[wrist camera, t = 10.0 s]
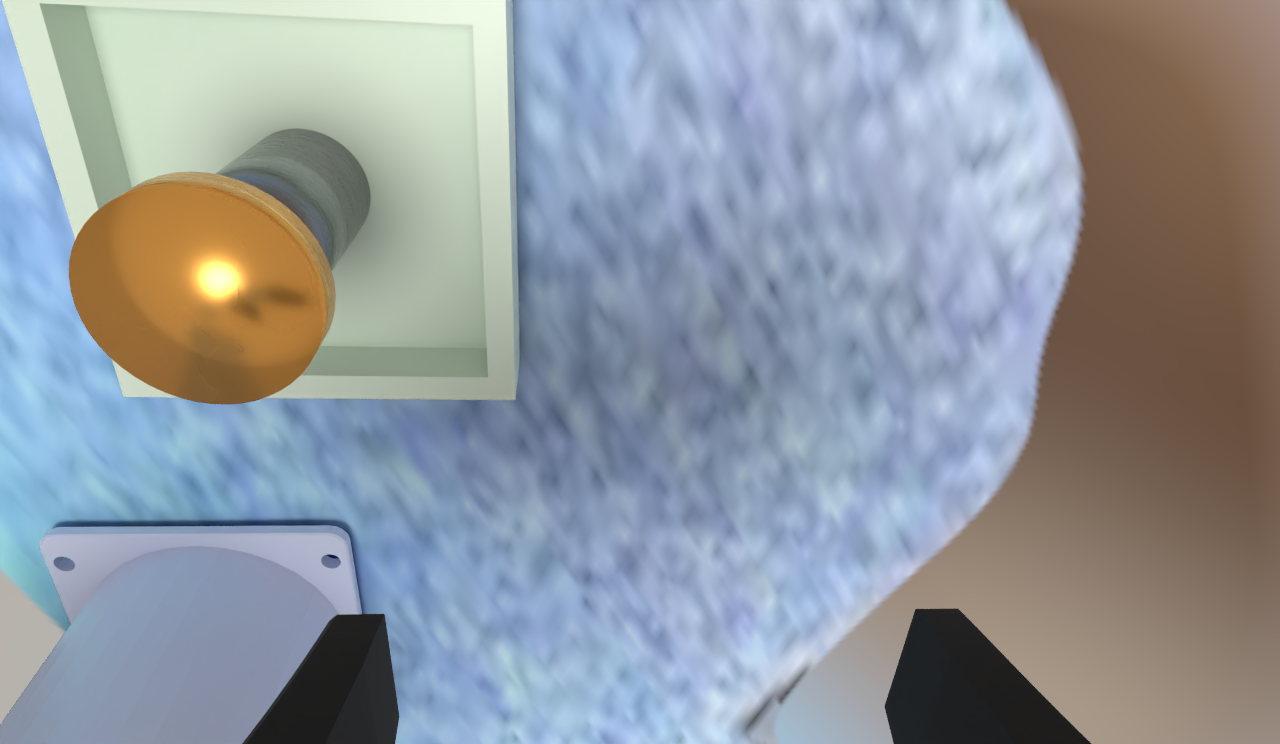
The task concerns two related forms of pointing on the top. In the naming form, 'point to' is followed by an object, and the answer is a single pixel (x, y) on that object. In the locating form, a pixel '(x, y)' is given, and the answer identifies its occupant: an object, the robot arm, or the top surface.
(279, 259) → the pin
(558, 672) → the top surface
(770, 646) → the top surface
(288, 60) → the parts tray
